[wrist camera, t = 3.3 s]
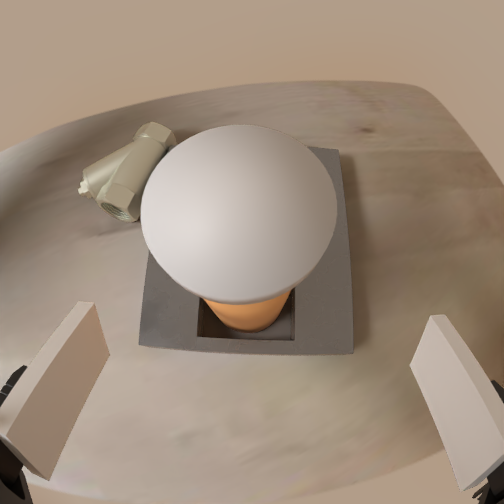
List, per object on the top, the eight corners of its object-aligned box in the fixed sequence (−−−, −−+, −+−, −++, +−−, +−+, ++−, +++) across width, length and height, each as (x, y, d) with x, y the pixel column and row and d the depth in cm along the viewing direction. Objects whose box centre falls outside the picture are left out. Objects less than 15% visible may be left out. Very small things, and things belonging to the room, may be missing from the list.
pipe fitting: (84, 210, 25) (140, 227, 24) (62, 188, 22) (120, 203, 21) (124, 142, 28) (181, 151, 27) (109, 116, 24) (169, 122, 23)
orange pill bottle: (204, 336, 21) (125, 291, 8) (210, 258, 23) (159, 126, 10) (288, 339, 21) (343, 300, 8) (288, 260, 23) (327, 128, 10)
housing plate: (148, 346, 21) (138, 344, 19) (174, 159, 26) (169, 145, 24) (344, 354, 21) (353, 353, 19) (333, 163, 26) (338, 149, 24)
